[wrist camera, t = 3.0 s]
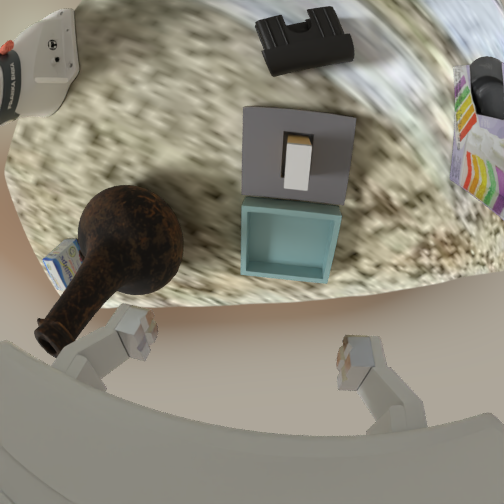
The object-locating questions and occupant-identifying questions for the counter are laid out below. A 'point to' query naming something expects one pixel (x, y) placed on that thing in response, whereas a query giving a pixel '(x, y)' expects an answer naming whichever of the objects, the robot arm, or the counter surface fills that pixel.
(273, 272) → the parts tray
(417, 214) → the counter surface
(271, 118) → the socket block
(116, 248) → the dark brown vase
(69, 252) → the medicine box
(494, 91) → the cake pan box
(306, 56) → the end cap
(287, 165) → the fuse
